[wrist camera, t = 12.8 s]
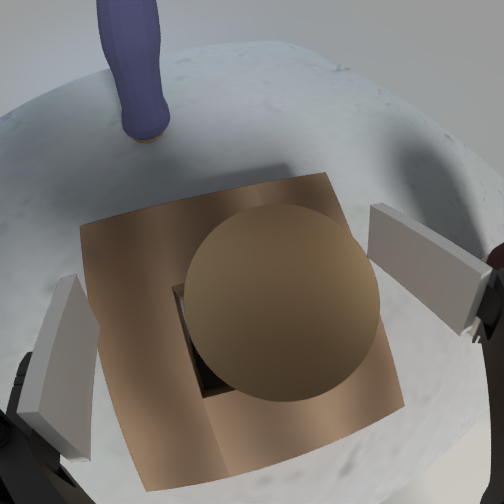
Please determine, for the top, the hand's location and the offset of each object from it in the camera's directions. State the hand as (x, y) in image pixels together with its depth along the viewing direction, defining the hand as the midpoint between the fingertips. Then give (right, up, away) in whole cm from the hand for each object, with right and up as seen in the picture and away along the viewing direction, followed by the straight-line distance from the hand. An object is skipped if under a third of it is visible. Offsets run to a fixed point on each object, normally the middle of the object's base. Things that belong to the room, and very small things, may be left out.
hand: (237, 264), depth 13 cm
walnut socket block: (0, -5, +7) cm, 8 cm away
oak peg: (0, -5, +7) cm, 9 cm away
